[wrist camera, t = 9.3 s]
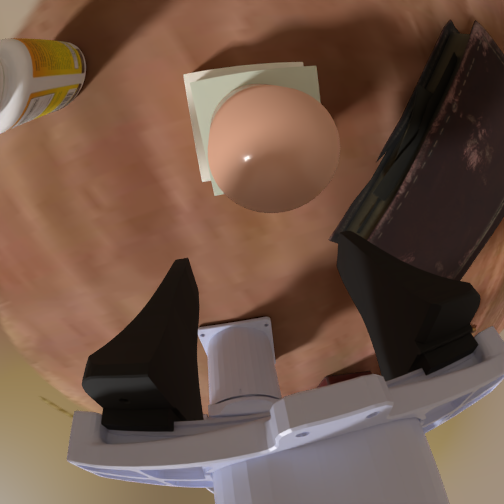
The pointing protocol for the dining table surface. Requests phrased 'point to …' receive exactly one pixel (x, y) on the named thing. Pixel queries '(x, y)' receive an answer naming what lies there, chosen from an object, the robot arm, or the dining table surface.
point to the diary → (441, 162)
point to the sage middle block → (218, 87)
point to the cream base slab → (211, 74)
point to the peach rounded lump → (272, 147)
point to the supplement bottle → (37, 78)
